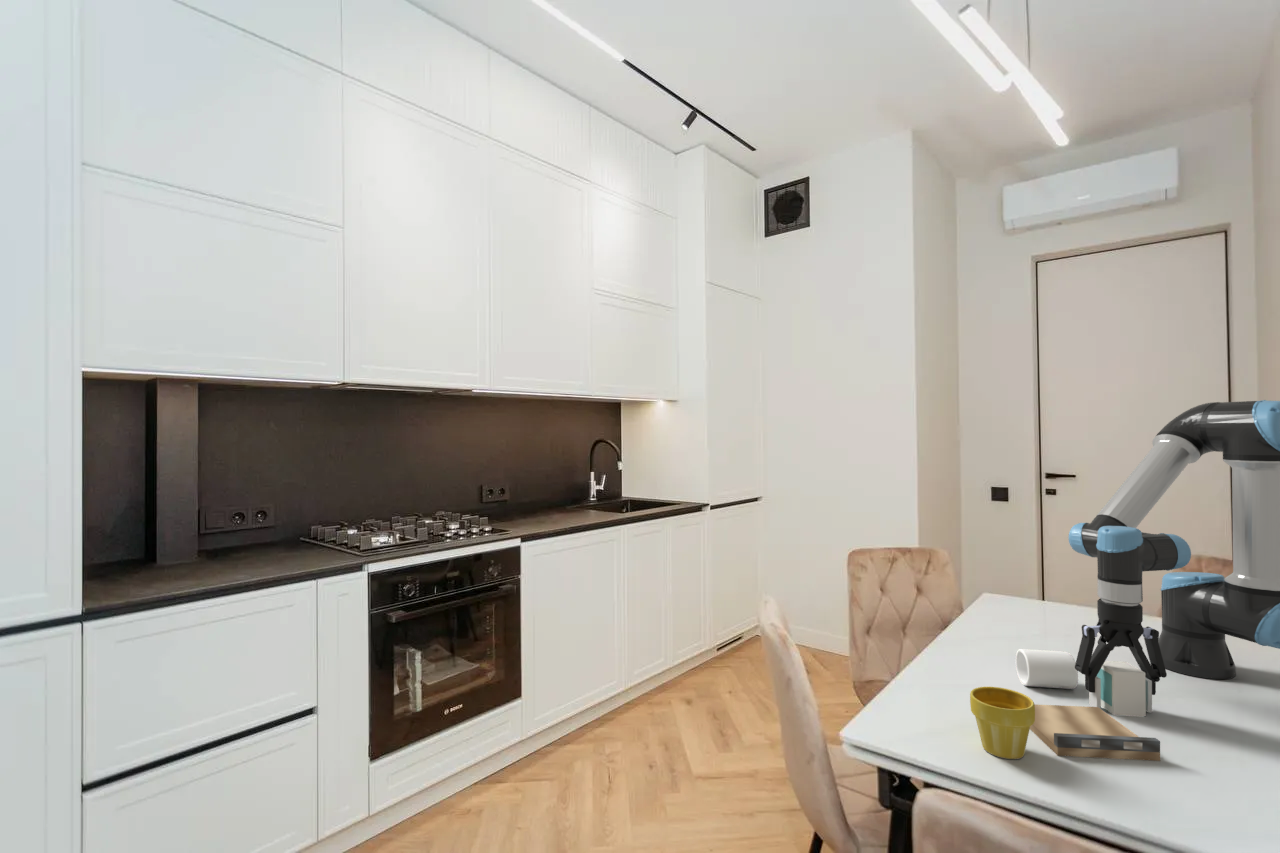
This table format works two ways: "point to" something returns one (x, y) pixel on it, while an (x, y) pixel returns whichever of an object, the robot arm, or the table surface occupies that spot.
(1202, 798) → the table surface
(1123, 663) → the carton
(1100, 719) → the shelf board
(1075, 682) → the mug
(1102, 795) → the table surface
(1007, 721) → the plant pot
